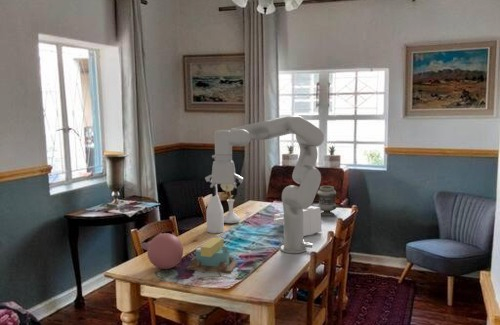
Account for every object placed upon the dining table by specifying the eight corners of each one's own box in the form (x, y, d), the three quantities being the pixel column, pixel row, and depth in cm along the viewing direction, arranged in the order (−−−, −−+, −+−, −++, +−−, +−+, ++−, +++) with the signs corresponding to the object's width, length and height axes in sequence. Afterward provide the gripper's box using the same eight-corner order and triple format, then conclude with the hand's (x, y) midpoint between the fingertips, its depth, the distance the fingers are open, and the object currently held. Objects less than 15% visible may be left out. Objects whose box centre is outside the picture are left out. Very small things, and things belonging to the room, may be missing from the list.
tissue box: (295, 224, 271) (329, 231, 248) (263, 231, 256) (296, 239, 234) (294, 200, 270) (328, 204, 247) (261, 206, 255) (294, 211, 233)
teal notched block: (229, 263, 199) (229, 245, 198) (226, 267, 195) (226, 248, 194) (199, 261, 202) (199, 243, 201) (196, 264, 198) (195, 246, 197)
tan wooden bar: (223, 246, 203) (223, 238, 203) (210, 256, 190) (210, 247, 190) (214, 245, 205) (214, 237, 204) (200, 255, 192) (200, 246, 191)
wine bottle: (216, 234, 245) (214, 180, 241) (203, 231, 251) (201, 179, 247) (227, 230, 253) (226, 178, 249) (214, 228, 259) (213, 176, 254)
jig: (238, 263, 202) (237, 255, 202) (231, 273, 190) (230, 265, 190) (195, 260, 206) (195, 252, 206) (186, 269, 195) (186, 262, 194)
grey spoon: (244, 221, 272) (243, 180, 268) (233, 225, 262) (232, 183, 259) (226, 218, 279) (225, 179, 275) (215, 223, 269) (214, 181, 266)
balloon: (153, 258, 210) (151, 226, 207) (190, 264, 202) (189, 231, 199) (132, 270, 196) (130, 235, 193) (171, 276, 188) (169, 241, 185)
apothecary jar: (317, 212, 292) (317, 184, 289) (336, 212, 290) (336, 185, 288) (317, 216, 280) (317, 188, 278) (337, 217, 278) (337, 188, 276)
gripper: (202, 158, 196) (203, 197, 198) (240, 159, 192) (241, 198, 195) (207, 156, 203) (208, 193, 206) (244, 157, 200) (245, 195, 202)
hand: (224, 196), depth 200 cm, fingers open, 9 cm apart
